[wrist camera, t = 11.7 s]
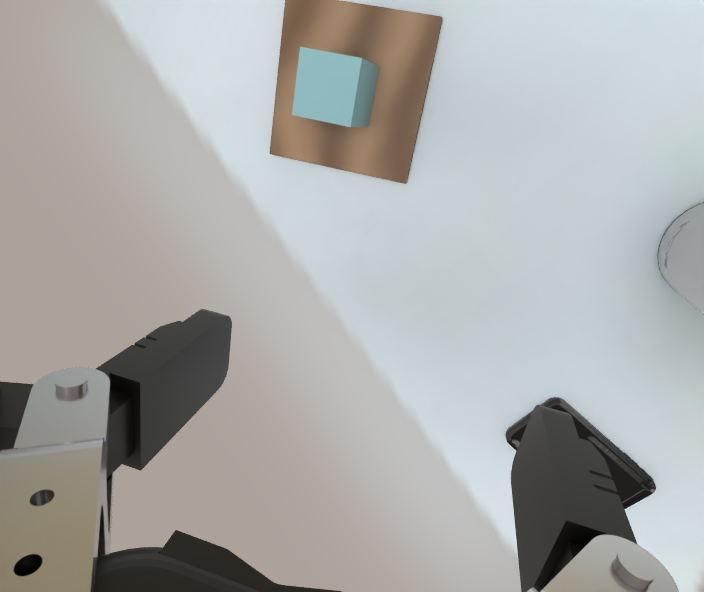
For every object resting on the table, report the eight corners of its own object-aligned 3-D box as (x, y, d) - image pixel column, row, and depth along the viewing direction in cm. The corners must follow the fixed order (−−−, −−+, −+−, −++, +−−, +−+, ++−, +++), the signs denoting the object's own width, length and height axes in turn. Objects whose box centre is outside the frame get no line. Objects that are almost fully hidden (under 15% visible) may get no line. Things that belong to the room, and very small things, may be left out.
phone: (599, 522, 52) (501, 437, 52) (597, 515, 54) (501, 431, 53) (661, 488, 49) (558, 397, 48) (658, 480, 50) (556, 391, 49)
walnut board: (442, 19, 40) (441, 16, 39) (406, 182, 45) (405, 183, 44) (290, -6, 42) (286, -8, 41) (273, 153, 48) (269, 153, 47)
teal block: (379, 67, 41) (362, 58, 35) (368, 126, 43) (350, 127, 37) (326, 57, 42) (300, 46, 36) (318, 115, 44) (291, 114, 38)
